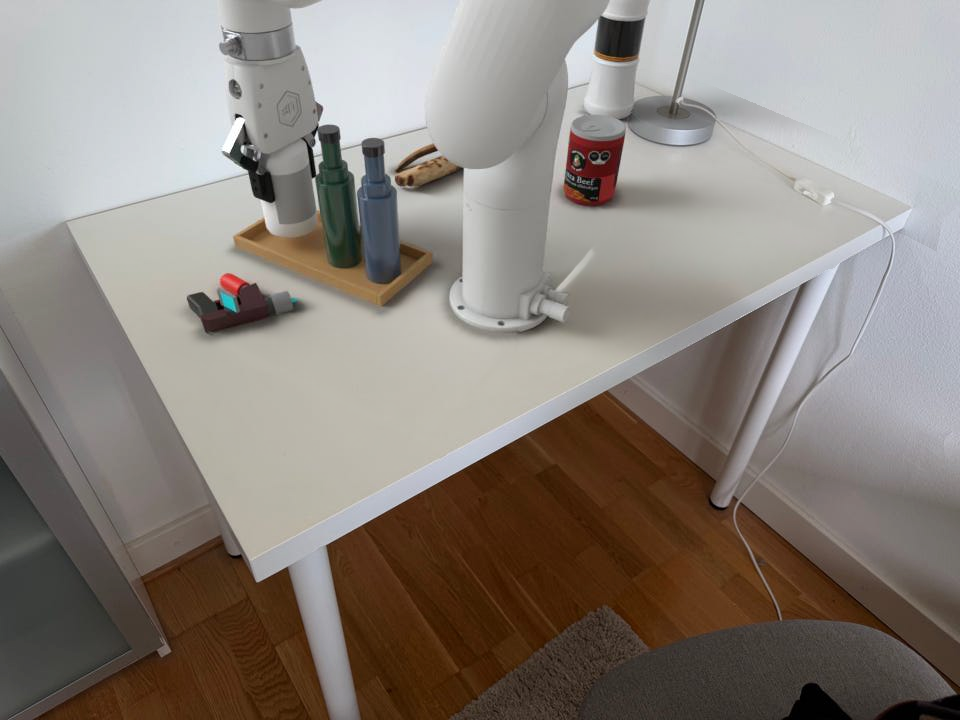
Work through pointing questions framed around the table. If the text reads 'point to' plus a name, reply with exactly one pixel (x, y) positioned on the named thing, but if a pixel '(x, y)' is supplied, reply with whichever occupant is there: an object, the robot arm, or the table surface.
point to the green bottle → (337, 202)
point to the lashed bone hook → (423, 168)
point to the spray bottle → (290, 192)
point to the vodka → (616, 59)
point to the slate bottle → (378, 217)
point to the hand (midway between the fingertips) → (285, 185)
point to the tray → (312, 261)
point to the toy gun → (237, 304)
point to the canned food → (593, 159)
